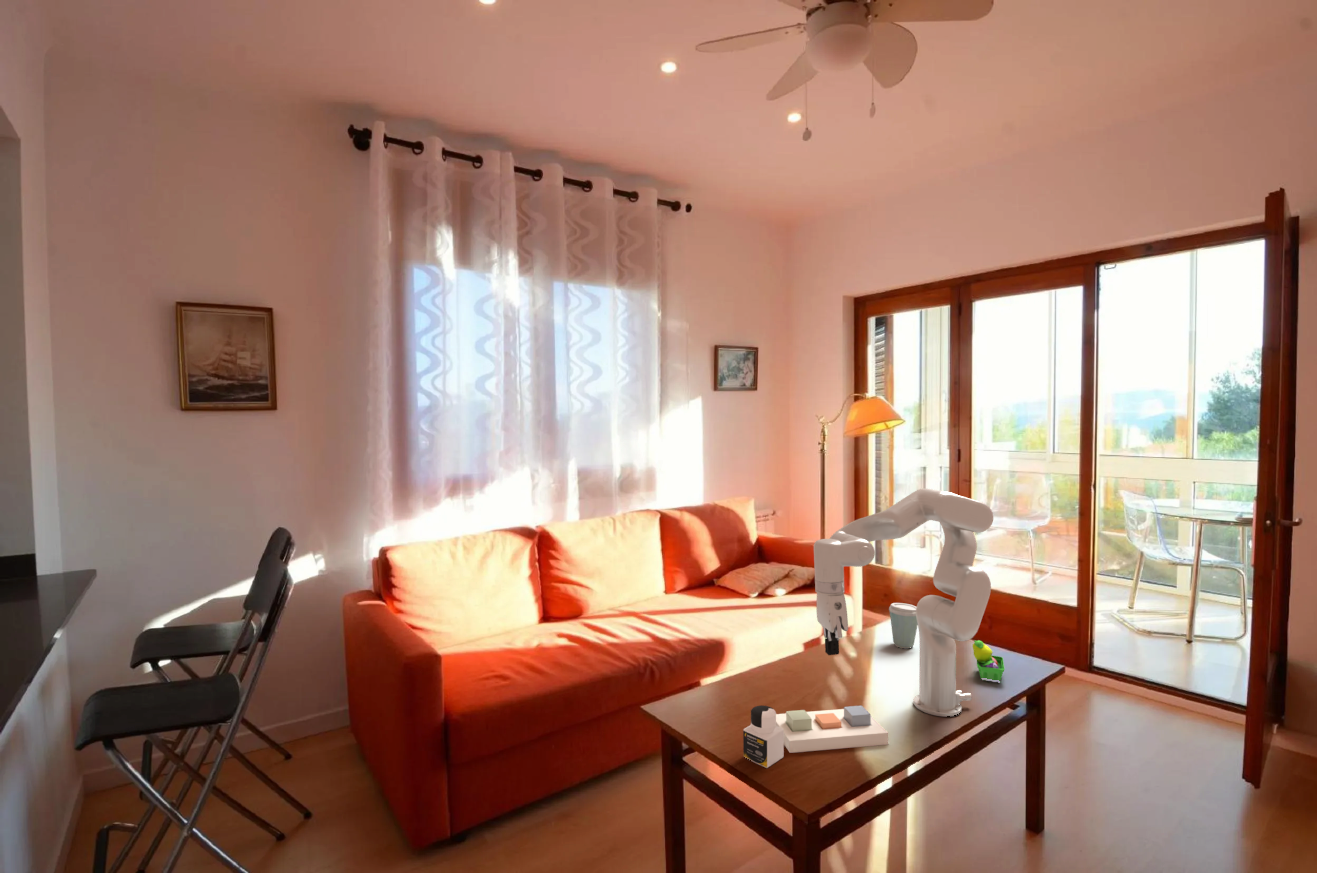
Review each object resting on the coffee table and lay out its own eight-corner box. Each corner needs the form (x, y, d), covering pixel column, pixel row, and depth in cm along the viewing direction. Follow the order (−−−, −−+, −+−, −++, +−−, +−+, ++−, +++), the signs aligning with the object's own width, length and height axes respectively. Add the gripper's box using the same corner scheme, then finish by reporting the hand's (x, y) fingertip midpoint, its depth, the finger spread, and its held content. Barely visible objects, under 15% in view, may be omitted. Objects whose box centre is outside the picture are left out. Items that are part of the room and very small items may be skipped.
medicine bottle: (742, 757, 154) (742, 709, 153) (760, 746, 159) (760, 699, 158) (766, 769, 149) (766, 718, 148) (784, 757, 154) (784, 708, 153)
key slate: (861, 720, 168) (861, 705, 168) (870, 729, 163) (870, 714, 163) (843, 721, 168) (843, 706, 168) (852, 730, 163) (852, 715, 163)
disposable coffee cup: (898, 638, 235) (898, 598, 234) (926, 646, 227) (926, 605, 226) (882, 645, 228) (883, 604, 228) (911, 654, 220) (911, 611, 219)
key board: (862, 718, 173) (862, 707, 173) (888, 744, 159) (888, 732, 159) (771, 725, 170) (771, 714, 169) (789, 752, 156) (789, 740, 156)
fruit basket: (1004, 686, 193) (1005, 649, 193) (972, 681, 197) (972, 645, 197) (1002, 672, 204) (1002, 637, 203) (972, 667, 207) (972, 634, 207)
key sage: (804, 724, 166) (804, 709, 166) (811, 734, 161) (811, 718, 161) (786, 726, 165) (786, 711, 165) (792, 735, 160) (792, 720, 160)
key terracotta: (833, 727, 167) (833, 713, 167) (841, 737, 162) (841, 722, 162) (815, 729, 167) (815, 714, 166) (822, 738, 162) (822, 723, 162)
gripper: (855, 592, 161) (858, 663, 162) (830, 577, 176) (833, 642, 177) (828, 595, 160) (831, 666, 161) (805, 580, 175) (808, 645, 176)
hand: (832, 653), depth 169 cm, fingers closed
